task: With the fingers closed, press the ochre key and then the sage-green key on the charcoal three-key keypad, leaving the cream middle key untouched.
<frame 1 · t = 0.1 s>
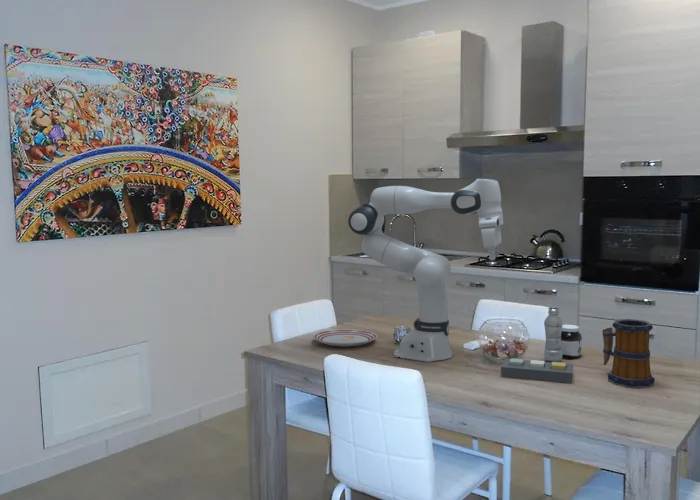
hand: (494, 258, 232), 39 cm above the table, tool pointing down, fingers open, 8 cm apart
cream key: (537, 365, 217), point 4 cm above the table, slide at 0.0 cm
mug: (624, 380, 211), on the table
keypad: (537, 375, 217), on the table
ochre key: (558, 366, 214), point 4 cm above the table, slide at 0.0 cm
plastic bottle: (553, 362, 234), on the table
spread jar: (565, 355, 242), on the table
sage-green key: (516, 363, 219), point 4 cm above the table, slide at 0.0 cm
dinner plate: (345, 343, 268), on the table
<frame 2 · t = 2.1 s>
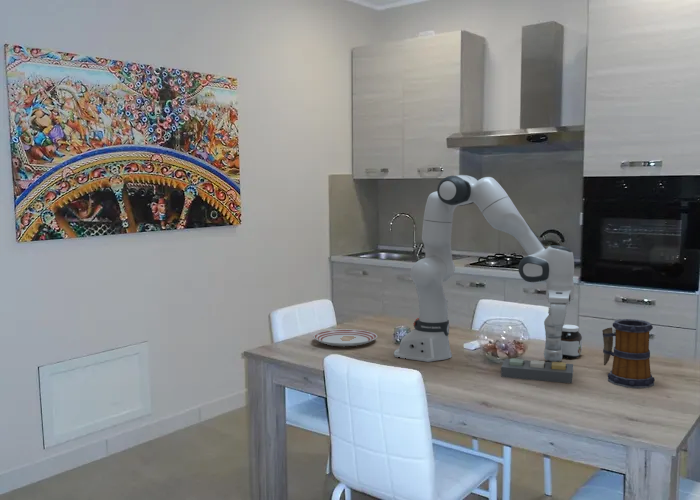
hand: (559, 333, 213), 15 cm above the table, tool pointing down, fingers open, 5 cm apart
nothing on the table moved.
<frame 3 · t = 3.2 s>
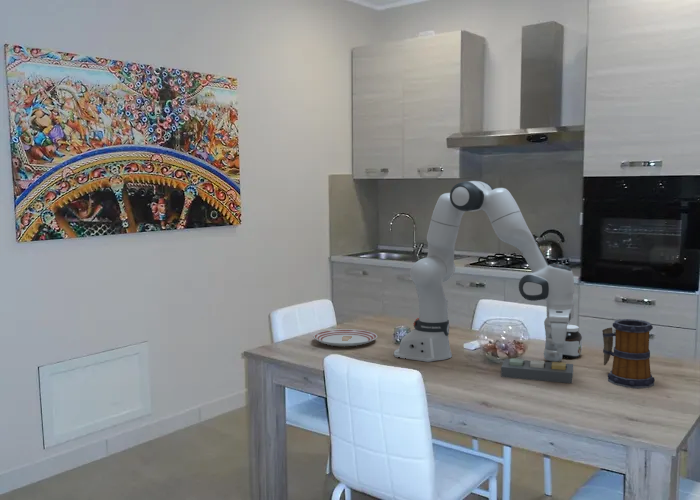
hand: (560, 352, 213), 9 cm above the table, tool pointing down, fingers closed
nothing on the table moved.
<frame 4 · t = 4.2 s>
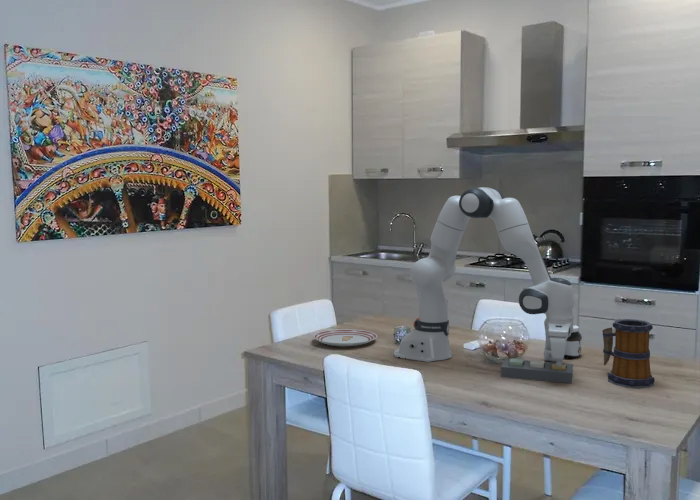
hand: (559, 365, 214), 4 cm above the table, tool pointing down, fingers closed, pressing on ochre key
ochre key: (558, 368, 214), point 3 cm above the table, slide at 0.7 cm, touching gripper
everything else where it was.
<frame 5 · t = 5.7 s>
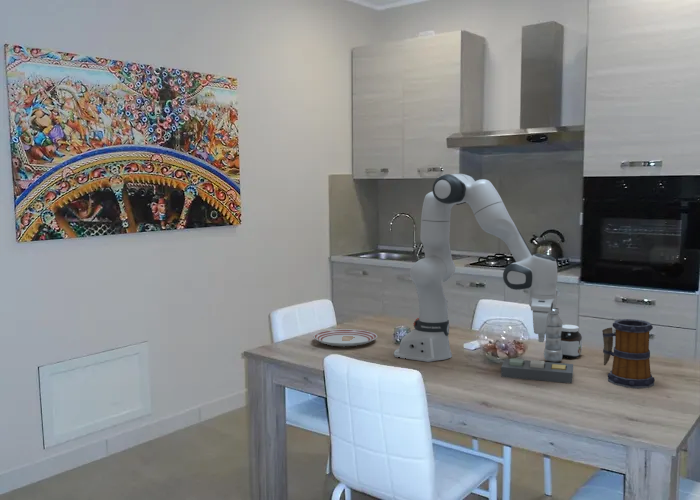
hand: (541, 341, 216), 12 cm above the table, tool pointing down, fingers closed
ochre key: (558, 369, 214), point 3 cm above the table, slide at 0.8 cm
everything else where it was.
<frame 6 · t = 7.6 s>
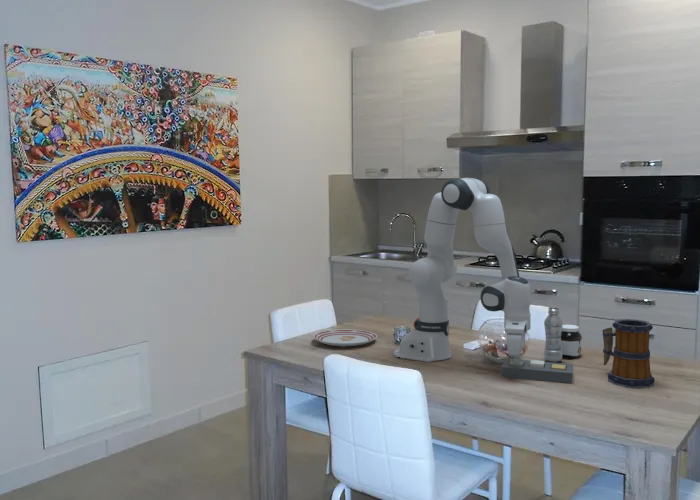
hand: (517, 362, 219), 4 cm above the table, tool pointing down, fingers closed, pressing on sage-green key
sage-green key: (516, 365, 219), point 3 cm above the table, slide at 0.8 cm, touching gripper
everything else where it was.
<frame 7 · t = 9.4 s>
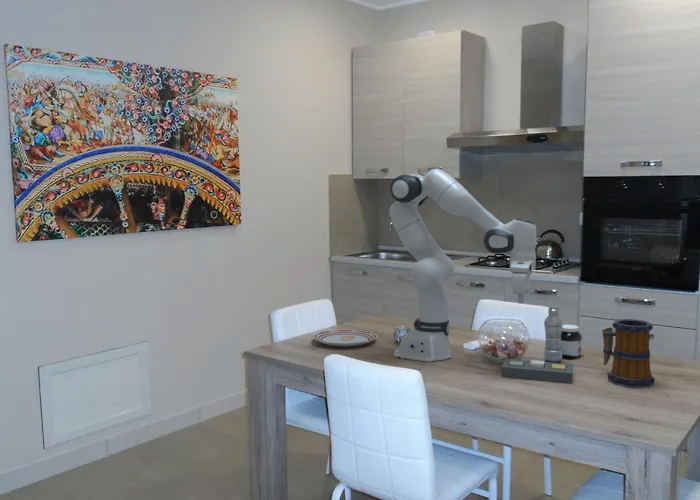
hand: (521, 302, 224), 24 cm above the table, tool pointing down, fingers closed
sage-green key: (516, 365, 219), point 3 cm above the table, slide at 0.9 cm
everything else where it was.
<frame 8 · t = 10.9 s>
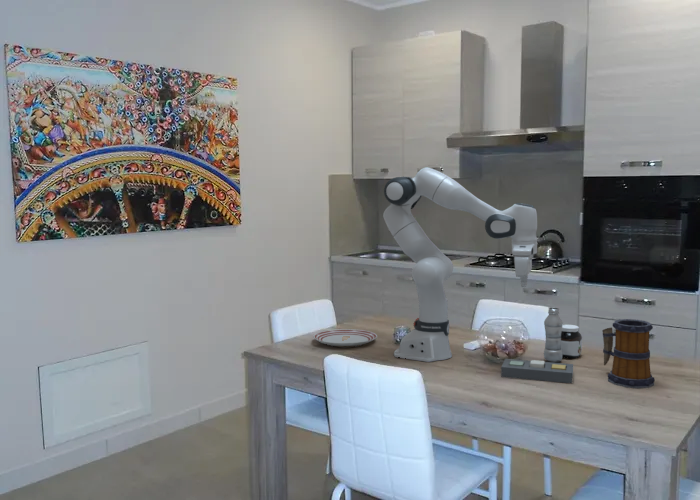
hand: (523, 286, 227), 29 cm above the table, tool pointing down, fingers closed
nothing on the table moved.
at the end: ochre key slide at 0.8 cm; sage-green key slide at 0.9 cm; cream key slide at 0.0 cm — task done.
